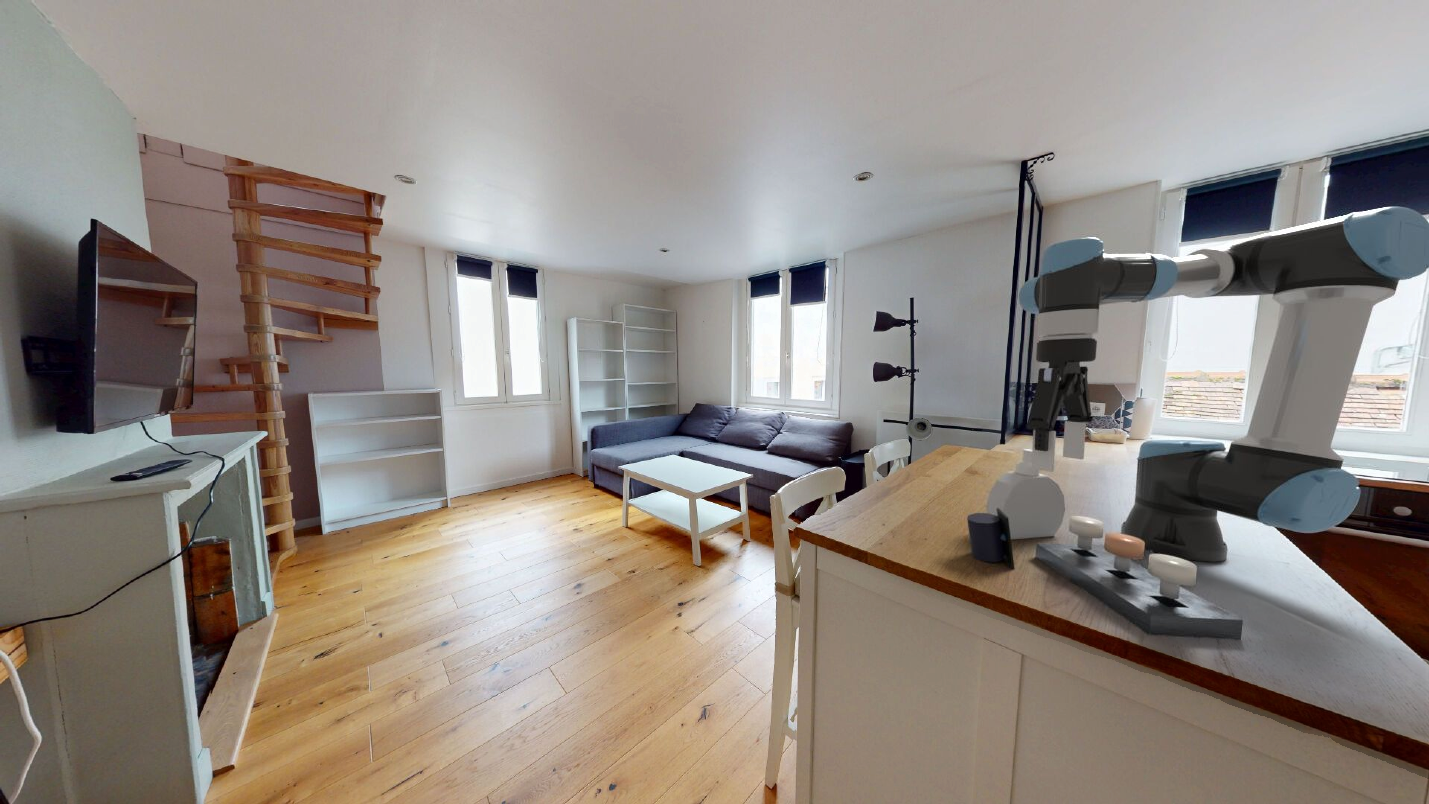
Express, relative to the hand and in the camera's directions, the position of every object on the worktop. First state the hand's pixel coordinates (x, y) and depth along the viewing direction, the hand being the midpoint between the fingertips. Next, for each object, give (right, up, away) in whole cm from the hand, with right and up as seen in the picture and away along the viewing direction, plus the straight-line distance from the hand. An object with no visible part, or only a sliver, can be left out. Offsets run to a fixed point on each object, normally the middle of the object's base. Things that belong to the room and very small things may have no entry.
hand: (1058, 463), depth 69 cm
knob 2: (+11, -19, -7) cm, 23 cm away
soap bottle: (+13, -21, +25) cm, 35 cm away
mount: (+12, -23, +2) cm, 26 cm away
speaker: (-3, -22, +14) cm, 26 cm away
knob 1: (+13, -18, +9) cm, 24 cm away
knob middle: (+12, -19, +1) cm, 22 cm away
